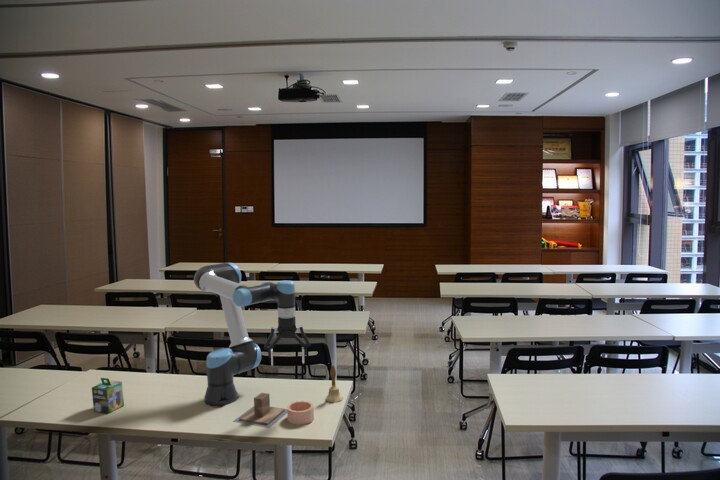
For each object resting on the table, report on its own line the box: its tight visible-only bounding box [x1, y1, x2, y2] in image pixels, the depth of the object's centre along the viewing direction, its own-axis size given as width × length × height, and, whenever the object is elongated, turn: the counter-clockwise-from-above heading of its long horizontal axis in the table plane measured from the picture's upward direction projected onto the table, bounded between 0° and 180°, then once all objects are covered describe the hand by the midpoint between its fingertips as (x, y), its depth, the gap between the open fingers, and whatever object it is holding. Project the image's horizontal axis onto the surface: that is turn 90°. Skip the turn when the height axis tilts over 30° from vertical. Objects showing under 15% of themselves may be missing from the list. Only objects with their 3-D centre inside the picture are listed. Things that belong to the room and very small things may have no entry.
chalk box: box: [91, 377, 125, 414], centre depth 226 cm, size 9×9×15 cm
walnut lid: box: [239, 392, 286, 425], centre depth 214 cm, size 14×14×9 cm
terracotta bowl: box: [286, 400, 315, 426], centre depth 211 cm, size 11×11×6 cm
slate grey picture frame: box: [232, 405, 287, 429], centre depth 215 cm, size 18×18×1 cm
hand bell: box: [324, 365, 344, 404], centre depth 231 cm, size 8×8×16 cm
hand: (287, 363), depth 218 cm, fingers open, 13 cm apart
